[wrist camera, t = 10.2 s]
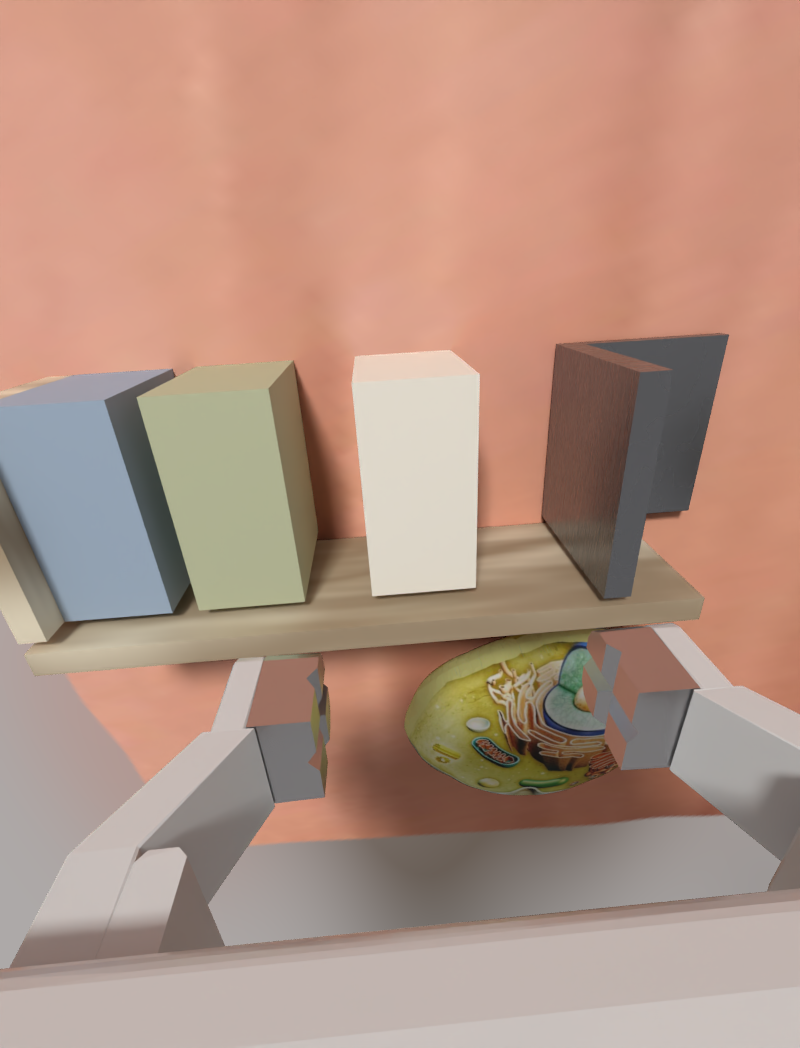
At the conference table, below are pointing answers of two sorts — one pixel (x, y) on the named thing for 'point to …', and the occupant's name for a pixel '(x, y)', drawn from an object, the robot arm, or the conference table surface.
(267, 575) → the book olive
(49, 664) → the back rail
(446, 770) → the cell model
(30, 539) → the book blue
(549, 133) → the conference table surface
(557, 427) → the bookend
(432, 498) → the book ivory
